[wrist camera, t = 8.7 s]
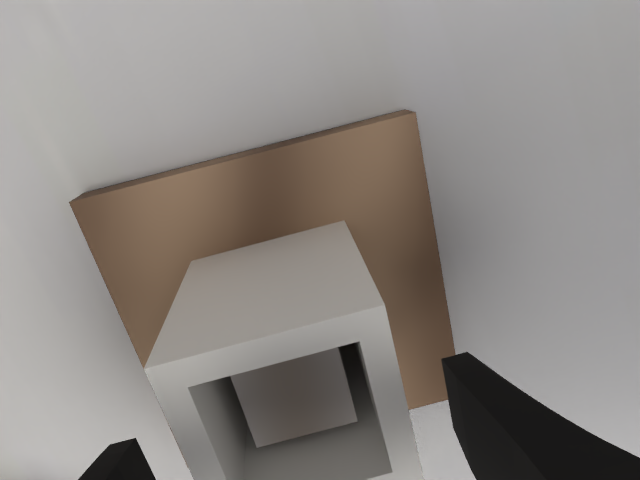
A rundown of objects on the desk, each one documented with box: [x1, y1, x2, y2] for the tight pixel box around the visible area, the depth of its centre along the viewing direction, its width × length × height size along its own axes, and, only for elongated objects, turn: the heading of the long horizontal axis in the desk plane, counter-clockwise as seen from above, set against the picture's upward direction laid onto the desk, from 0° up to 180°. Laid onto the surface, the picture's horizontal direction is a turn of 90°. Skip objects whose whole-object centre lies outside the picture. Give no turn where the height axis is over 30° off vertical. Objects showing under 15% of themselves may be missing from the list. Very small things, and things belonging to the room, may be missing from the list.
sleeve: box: [144, 220, 424, 480], centre depth 13 cm, size 5×5×6 cm
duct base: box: [69, 110, 455, 467], centre depth 15 cm, size 11×11×6 cm
